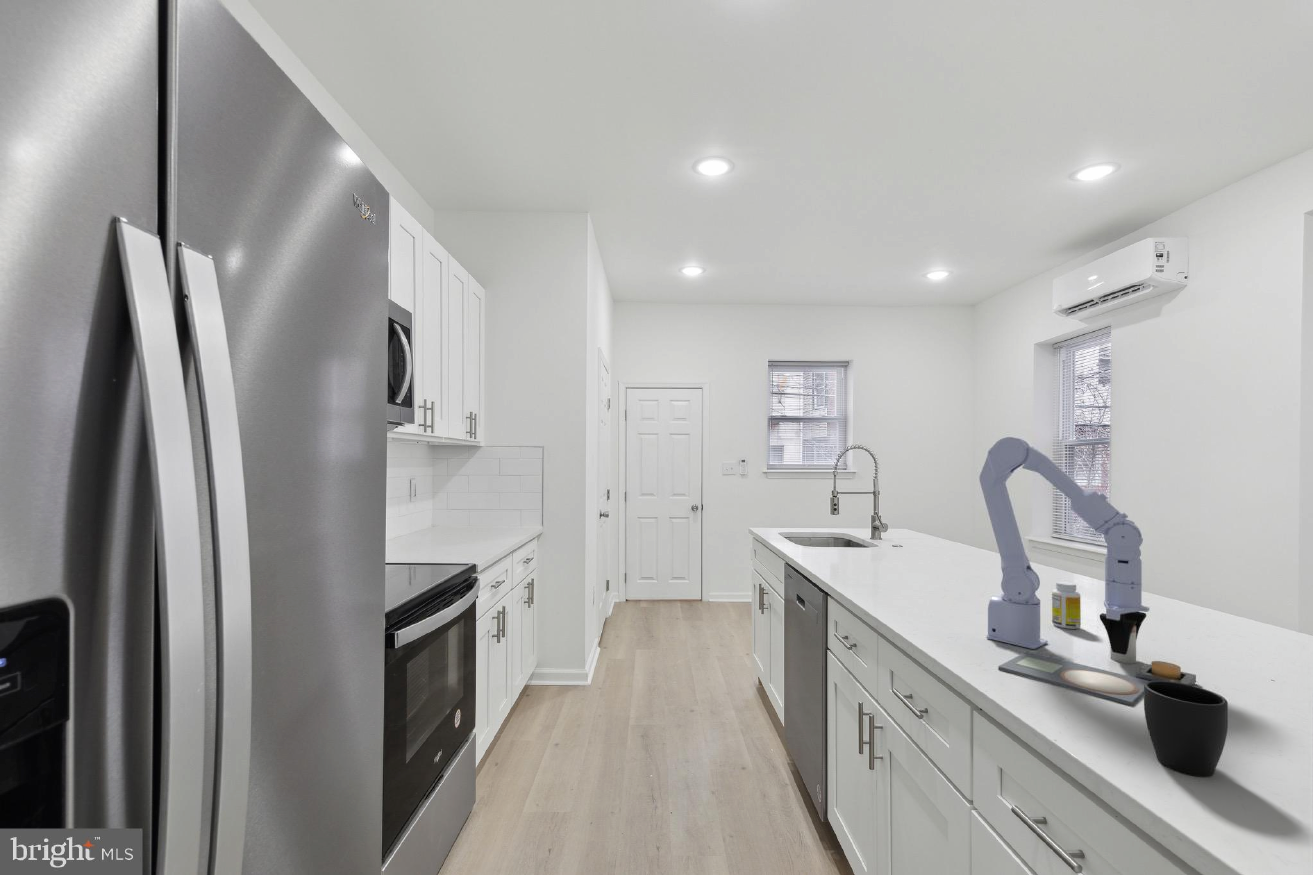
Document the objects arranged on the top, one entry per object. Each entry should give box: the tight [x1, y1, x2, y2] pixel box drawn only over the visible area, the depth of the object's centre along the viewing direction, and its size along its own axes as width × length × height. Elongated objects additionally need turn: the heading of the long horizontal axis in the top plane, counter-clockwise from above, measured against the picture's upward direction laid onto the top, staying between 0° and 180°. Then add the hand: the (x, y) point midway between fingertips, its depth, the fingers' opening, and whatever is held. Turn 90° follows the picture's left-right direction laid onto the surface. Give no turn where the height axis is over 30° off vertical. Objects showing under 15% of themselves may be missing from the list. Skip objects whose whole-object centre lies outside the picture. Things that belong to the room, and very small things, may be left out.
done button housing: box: [1135, 663, 1197, 686], centre depth 107 cm, size 7×7×2 cm
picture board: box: [997, 651, 1149, 707], centre depth 109 cm, size 20×14×1 cm
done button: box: [1150, 660, 1182, 679], centre depth 107 cm, size 4×4×2 cm
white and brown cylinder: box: [1110, 626, 1137, 665], centre depth 118 cm, size 4×4×7 cm
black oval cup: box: [1143, 680, 1229, 778], centre depth 79 cm, size 8×12×10 cm
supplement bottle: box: [1051, 580, 1082, 630], centre depth 141 cm, size 6×6×10 cm
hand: (1123, 650), depth 118 cm, fingers open, 5 cm apart
